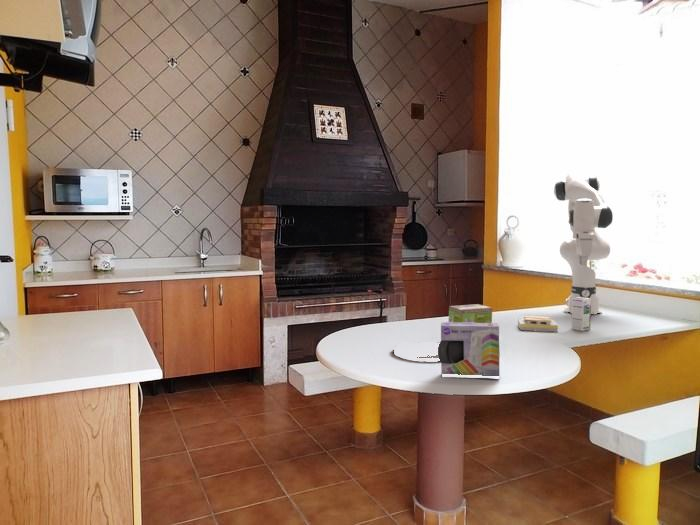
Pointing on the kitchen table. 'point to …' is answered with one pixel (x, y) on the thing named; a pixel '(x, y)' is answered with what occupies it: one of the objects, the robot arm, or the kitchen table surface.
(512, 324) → the kitchen table surface
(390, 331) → the kitchen table surface
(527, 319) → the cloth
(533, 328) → the dock
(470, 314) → the tea box
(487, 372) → the cake pan box
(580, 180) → the robot arm
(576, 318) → the syrup box
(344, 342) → the kitchen table surface
